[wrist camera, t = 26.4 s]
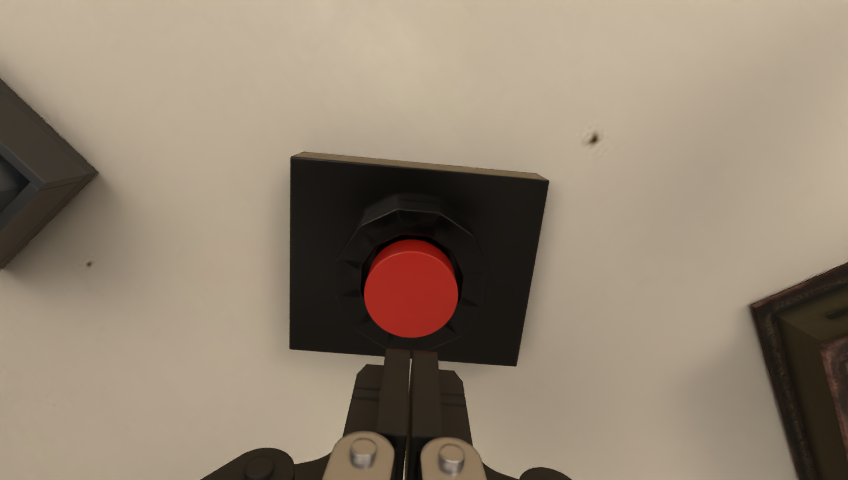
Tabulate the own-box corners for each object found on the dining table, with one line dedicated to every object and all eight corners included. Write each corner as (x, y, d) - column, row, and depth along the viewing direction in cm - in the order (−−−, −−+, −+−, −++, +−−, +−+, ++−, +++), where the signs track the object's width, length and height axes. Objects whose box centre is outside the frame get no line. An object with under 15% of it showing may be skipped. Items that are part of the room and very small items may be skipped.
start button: (365, 316, 21) (361, 334, 19) (371, 235, 20) (366, 247, 18) (449, 322, 21) (452, 341, 19) (459, 243, 20) (463, 255, 18)
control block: (299, 329, 25) (278, 369, 21) (302, 151, 22) (277, 161, 18) (508, 345, 25) (524, 388, 22) (537, 173, 22) (562, 187, 19)
